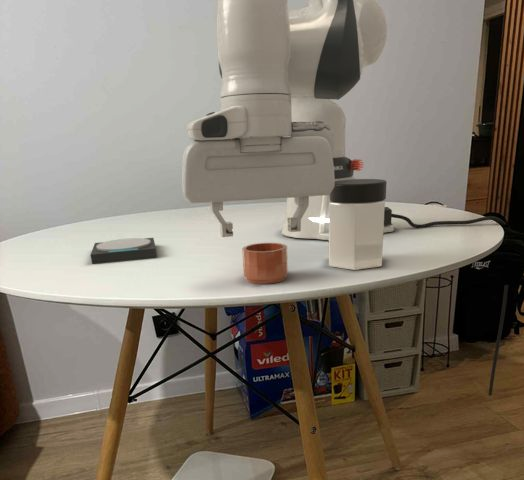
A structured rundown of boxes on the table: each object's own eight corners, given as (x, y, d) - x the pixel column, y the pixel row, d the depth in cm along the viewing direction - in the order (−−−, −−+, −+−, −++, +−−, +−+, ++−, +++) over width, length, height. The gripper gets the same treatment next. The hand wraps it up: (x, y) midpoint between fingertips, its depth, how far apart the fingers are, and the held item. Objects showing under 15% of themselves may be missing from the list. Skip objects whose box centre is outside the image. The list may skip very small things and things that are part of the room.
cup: (281, 271, 75) (280, 241, 73) (293, 281, 69) (292, 249, 68) (240, 275, 74) (238, 245, 72) (249, 286, 68) (247, 253, 66)
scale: (154, 245, 98) (153, 235, 97) (156, 257, 88) (155, 246, 87) (96, 251, 96) (94, 240, 95) (92, 263, 86) (89, 252, 85)
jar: (368, 254, 82) (371, 177, 77) (395, 265, 75) (400, 181, 70) (318, 261, 80) (318, 181, 75) (340, 272, 72) (341, 185, 68)
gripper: (326, 121, 68) (325, 225, 73) (175, 126, 64) (185, 235, 69) (343, 119, 62) (340, 231, 68) (178, 124, 58) (189, 243, 64)
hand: (260, 233), depth 69 cm, fingers open, 8 cm apart
